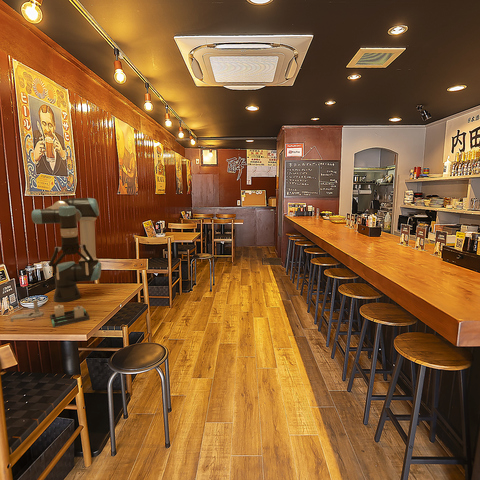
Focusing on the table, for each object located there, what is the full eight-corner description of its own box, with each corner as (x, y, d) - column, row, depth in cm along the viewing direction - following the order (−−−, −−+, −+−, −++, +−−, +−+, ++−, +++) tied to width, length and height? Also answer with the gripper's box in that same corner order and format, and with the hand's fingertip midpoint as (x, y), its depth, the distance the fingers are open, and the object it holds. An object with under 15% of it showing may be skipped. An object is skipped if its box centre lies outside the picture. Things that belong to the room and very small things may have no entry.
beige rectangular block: (55, 317, 162) (54, 305, 161) (63, 315, 165) (62, 303, 164) (56, 319, 159) (54, 307, 158) (64, 317, 161) (63, 305, 160)
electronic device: (11, 302, 163) (42, 298, 166) (14, 319, 164) (45, 315, 168) (6, 305, 158) (38, 302, 161) (9, 323, 159) (41, 319, 163)
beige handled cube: (74, 318, 161) (73, 306, 160) (82, 316, 163) (81, 304, 162) (75, 320, 157) (74, 308, 156) (84, 319, 160) (83, 306, 159)
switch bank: (50, 319, 163) (49, 313, 163) (84, 312, 173) (83, 307, 172) (53, 330, 150) (52, 324, 149) (90, 321, 159) (89, 316, 159)
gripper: (41, 239, 145) (45, 282, 148) (97, 235, 160) (100, 274, 163) (39, 237, 150) (43, 279, 153) (94, 233, 166) (96, 271, 169)
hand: (73, 276), depth 158 cm, fingers open, 13 cm apart
